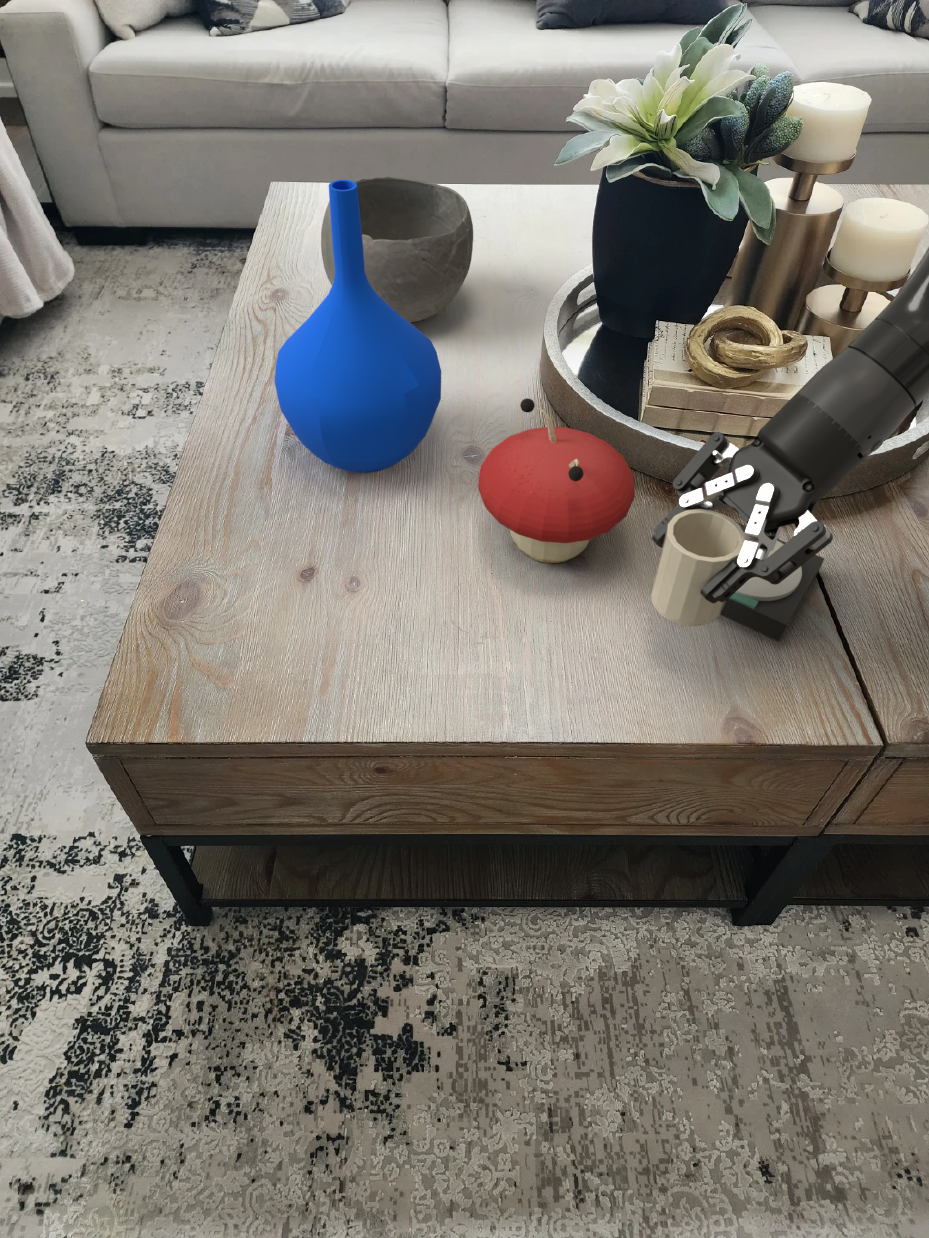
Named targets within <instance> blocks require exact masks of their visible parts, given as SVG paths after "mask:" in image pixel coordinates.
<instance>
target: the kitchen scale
mask: <svg viewBox="0 0 929 1238" xmlns="http://www.w3.org/2000/svg"><path fill="white" fill-rule="evenodd" d="M734 521H735V520H734ZM735 522H736V523H737V524H739V525H740V527H741V528H742V530H743V532H744V533H745V530H746V527H747V525H745V524H742V523H740V522H738V521H735ZM786 542H787V541H784V540H782V539H779V538H778V539H777V541H776V544H775V547H774V549H773V550H772V551H770V552H769V555H768V557H769V556H770V555H772V554H773V553H774V552H775V551H777V550H778V549H779V548H780V547H781V546H783V545H784V544H785V543H786ZM768 557H767V558H768ZM824 561H825V558H824V557H822V556H819V555H817V554H816V555H814V556H813V557H812V558H811V559H809V560H808V561H807V562H806V563H804V564H803V565H802V566H801V567H799V568H798V569H797V570H796V571H794V572H793V573H792V574H790V575H789V576H788V577H787V578H785V579H784V580H783V581H782V582H780V583H779V584H776V585H773V584H771V583H770V582H768V581H766V580H764V579H761V578H759V577H753V578H751V579H749V580H748V581H747V582H746V583H745V584H744V585H743V586H742V587H741V588H739V589H738V590H737V591H736V592H735V593H734V594H733V595H732V596H731V597H730V598H729V599H728V600H726V602H725V605H724V607H723V609H722V612H721V614H720V615H719V616H722V617H724V618H726V619H728V620H730V621H732V622H735V623H737V624H739V625H742V626H743V627H746V628H748V629H750V630H752V631H754V632H756V633H759V634H761V635H763V636H765V637H766V638H769V639H771V640H774V641H776V642H780V641H781V639H782V638H783V636H784V634H785V632H786V630H788V627H789V625H790V624H791V621H792V620H793V618H794V616H795V614H796V613H797V611H798V609H799V607H800V606H801V604H802V603H803V601H804V599H805V597H806V595H807V593H808V592H809V590H810V588H811V586H812V585H813V584H814V582H815V580H816V578H817V576H818V574H819V572H820V570H821V568H822V566H823V563H824Z"/></svg>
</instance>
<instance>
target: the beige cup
mask: <svg viewBox="0 0 929 1238" xmlns="http://www.w3.org/2000/svg"><path fill="white" fill-rule="evenodd" d="M736 522H737V521H736ZM736 522H735V520H734V519H733V518H731V517H730V516H728V515H726V514H723V513H721V512H718V511H717V510H713V511H712V510H705V509H693V510H686V511H683V512H681V513H679V514H677V515H675V516H674V517H673V518H672V520H671V521H670V522H669V523H668V526H667V530H666V534H665V538H664V542H663V546H662V548H661V550H660V554H659V558H658V562H657V566H656V570H655V574H654V578H653V582H652V587H651V592H650V600H651V603H652V605H653V608H654V609H655V610H656V611H657V612H658V614H660V615H661V616H662V617H664V619H666V620H668V621H670V622H672V623H674V624H677V625H681V626H685V627H701V626H702V627H703V626H705V625H709V624H711V623H713V622H714V621H716V620H717V619H718V618H719V617H720V616H721V615H720V614H721V612H722V609H723V607H724V605H725V602H726V601H724V602H720V601H718V602H716V603H711V602H709V601H708V600H706V599H705V598H704V597H703V596H702V595H701V594H700V591H701V590H702V588H703V587H705V586H706V585H707V584H708V583H709V582H710V581H711V580H712V579H713V578H714V577H715V576H716V575H717V574H718V573H719V572H720V571H721V570H722V569H723V568H724V567H725V566H726V565H728V564H729V563H730V562H731V561H733V562H735V563H736V562H737V560H738V557H739V554H740V551H741V549H742V546H743V544H744V541H745V536H744V534H745V533H744V532H743V530H742V528H741V527H740V525H739V524H737V523H736Z"/></svg>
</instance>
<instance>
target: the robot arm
mask: <svg viewBox="0 0 929 1238" xmlns="http://www.w3.org/2000/svg"><path fill="white" fill-rule="evenodd" d="M928 396H929V246H928V247H927V248H926V250H925V251H924V253H923V255H922V257H921V259H920V260H919V262H918V264H917V265H916V267H915V268H914V270H913V271H912V273H911V274H910V276H909V278H908V279H907V280H906V281H905V283H904V284H903V286H901V288H900V290H899V291H898V292H897V293H896V295H894V297H893V298H892V299H891V300H890V302H889V303H888V304H887V305H886V306H885V307H884V308H883V309H882V311H880V313H878V315H877V316H876V317H875V318H874V319H873V320H872V321H870V323H869V324H868V325H866V327H865V328H864V329H863V330H862V331H861V332H860V333H859V334H858V335H857V336H856V337H855V338H854V339H853V340H852V341H851V342H850V343H849V344H848V345H847V347H845V348H844V349H843V350H842V351H841V352H839V353H838V354H837V355H836V356H834V357H833V358H832V359H831V360H829V361H828V362H827V363H826V364H825V365H824V366H822V367H821V368H820V369H818V371H816V373H815V374H814V375H813V376H812V377H811V378H810V379H809V380H808V381H807V382H806V383H805V384H804V385H803V386H801V388H800V389H799V390H798V391H797V392H796V393H795V394H794V395H793V396H792V397H791V398H790V399H789V400H788V401H787V402H786V403H785V404H784V405H783V406H782V407H781V408H780V409H779V410H778V411H777V412H776V413H775V414H774V415H773V416H772V417H771V418H770V419H769V421H767V422H766V423H765V424H764V425H763V426H762V427H761V428H760V429H759V431H758V433H757V435H756V437H755V438H754V439H753V441H752V442H751V443H749V444H748V445H746V446H743V447H740V448H739V447H737V446H736V445H734V444H733V443H732V442H731V441H730V440H729V439H728V438H727V437H726V436H725V435H724V434H723V433H722V432H720V431H716V432H714V433H712V434H711V435H710V437H709V438H708V439H707V440H706V442H704V444H702V446H701V447H700V449H699V450H698V451H697V452H696V453H695V454H694V456H692V458H691V459H690V461H688V462H687V464H686V465H685V466H684V467H683V468H682V469H681V471H680V472H679V473H678V474H677V475H676V477H675V478H674V479H673V481H672V487H673V488H674V489H675V491H676V494H677V497H678V503H677V504H676V506H675V507H674V508H673V509H672V510H671V511H670V512H668V514H667V515H666V516H665V517H663V519H662V520H661V521H660V522H659V523H658V524H657V525H656V526H655V528H654V531H653V532H654V534H653V535H652V537H651V540H652V542H653V543H655V545H656V546H658V547H659V548H661V549H662V546H663V542H664V538H665V534H666V530H667V526H668V523H669V522H670V521H671V520H672V518H673V517H674V516H675V515H677V514H679V513H681V512H683V511H686V510H693V509H705V510H712V511H718V510H719V511H722V510H726V509H729V508H731V510H733V511H734V512H735V513H737V515H739V517H740V518H741V519H742V520H743V521H744V522H745V523H746V524H747V525H746V526H747V527H746V530H745V534H744V536H745V541H744V544H743V546H742V549H741V551H740V554H739V557H738V560H737V562H736V563H735V562H733V561H731V562H730V563H729V564H728V565H726V566H725V567H724V568H723V569H722V570H721V571H720V572H719V573H718V574H717V575H716V576H715V577H714V578H713V579H712V580H711V581H710V582H709V583H708V584H707V585H706V586H705V587H703V588H702V590H701V591H700V594H701V595H702V596H703V597H704V598H705V599H706V600H708V601H709V602H711V603H716V602H718V601H720V602H724V601H726V600H728V599H729V598H730V597H731V596H732V595H733V594H734V593H735V592H736V591H737V590H738V589H739V588H741V587H742V586H743V585H744V584H745V583H746V582H747V581H748V580H749V579H751V578H753V577H759V578H761V579H764V580H766V581H768V582H770V583H771V584H773V585H776V584H779V583H780V582H782V581H783V580H784V579H785V578H787V577H788V576H789V575H790V574H792V573H793V572H794V571H796V570H797V569H798V568H799V567H801V566H802V565H803V564H804V563H806V562H807V561H808V560H809V559H811V558H812V557H813V556H814V555H817V554H818V553H820V552H821V551H823V550H824V549H825V548H826V547H827V546H829V545H830V544H831V543H832V542H833V539H834V535H833V533H832V532H831V530H830V529H829V528H828V527H827V526H826V525H825V524H824V523H822V522H821V521H819V520H817V518H816V517H815V516H814V515H813V513H814V509H815V507H816V506H817V503H819V501H820V500H821V499H822V498H824V497H826V496H827V495H829V494H830V493H831V492H832V491H833V490H834V489H835V488H836V487H837V486H839V485H840V484H841V483H842V482H843V481H844V480H845V479H846V478H847V477H848V476H849V475H850V474H851V473H852V472H853V471H854V470H856V469H857V468H858V467H859V466H860V465H861V464H862V463H863V462H864V461H865V460H866V459H867V458H868V457H869V456H870V455H871V454H873V453H874V452H876V451H877V450H878V449H879V448H880V447H881V446H882V445H883V443H884V442H885V441H886V440H887V439H888V438H889V437H890V436H891V435H892V434H893V433H895V431H896V430H897V429H898V428H899V427H900V425H901V424H902V423H903V421H904V420H905V419H906V418H907V417H908V416H909V415H910V413H911V412H912V411H913V410H914V409H915V408H916V407H917V406H918V405H920V403H921V402H923V401H924V400H925V399H926V398H927V397H928ZM728 465H729V467H728V470H727V474H724V475H722V476H719V477H717V478H715V479H712V477H713V476H714V475H715V474H716V473H717V472H718V471H719V469H720V468H722V467H727V466H728ZM795 524H798V526H797V527H796V528H795V529H794V531H793V537H791V538H790V539H789V540H788V541H785V542H786V543H785V544H784V545H783V546H781V547H780V548H779V549H778V550H777V551H775V552H774V553H773V554H772V555H770V556H769V557H768V555H769V552H770V551H772V550H773V549H774V547H775V544H776V541H777V539H779V536H780V533H781V531H782V529H783V527H786V526H791V525H795ZM767 557H768V558H767Z"/></svg>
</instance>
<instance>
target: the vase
mask: <svg viewBox="0 0 929 1238" xmlns="http://www.w3.org/2000/svg"><path fill="white" fill-rule="evenodd" d="M355 182H356V181H354V180H350V179H335V180H332V181H331V182H329V184H328V197H329V201H330V213H331V228H332V243H333V254H334V265H335V277H334V283H333V285H331V288H330V289H329V292H328V294H327V295H326V296H325V298H324V299H323V300H322V301H321V303H320V304H319V305H318V306H317V307H316V308H315V310H314V311H313V312H312V314H311V315H310V316H309V317H308V318H307V319H306V320H305V321H304V322H303V323H302V324H301V325H300V326H299V327H298V328H297V329H296V330H295V331H294V332H293V333H292V334H291V335H290V336H289V337H288V338H287V339H286V340H285V341H284V343H283V345H282V346H281V347H280V348H279V350H278V351H277V357H276V362H275V372H274V385H275V392H276V396H277V401H278V405H279V408H280V411H281V413H282V414H283V417H284V418H285V419H286V422H287V423H288V425H289V427H290V428H291V430H292V431H293V434H294V435H295V436H296V437H297V439H298V440H299V442H300V443H301V444H302V445H303V446H304V447H305V448H306V449H307V450H308V451H309V452H310V453H311V454H312V455H314V456H315V458H317V459H319V460H320V461H322V462H323V463H325V464H327V465H329V466H332V467H334V468H337V469H339V470H341V471H343V472H344V471H345V472H349V473H353V474H354V473H355V474H371V473H376V472H381V471H384V470H387V469H389V468H391V467H393V466H395V465H396V464H398V463H400V462H401V461H403V460H405V459H406V458H408V457H409V456H410V454H412V453H413V451H415V450H416V448H417V447H418V446H419V445H420V444H421V442H422V441H423V440H424V439H425V437H426V436H427V434H428V431H429V430H430V427H431V425H432V423H433V420H434V417H435V415H436V413H437V410H438V407H439V404H440V402H441V399H442V367H441V364H440V359H439V356H438V353H437V350H436V348H435V346H434V343H433V342H432V340H431V339H430V338H429V337H427V336H426V335H425V334H424V332H422V331H421V330H420V329H418V328H417V327H416V326H415V325H413V324H412V322H408V321H407V320H405V319H404V318H403V317H402V316H400V315H399V314H398V313H397V312H396V311H395V310H393V309H392V308H391V307H390V306H389V305H388V304H387V303H386V302H385V301H384V300H383V299H382V298H381V297H380V296H379V295H378V294H377V293H375V291H374V289H373V288H372V286H371V285H370V283H369V282H368V279H367V276H366V273H365V266H364V252H363V240H362V230H361V220H360V210H359V200H358V190H357V184H356V183H355Z"/></svg>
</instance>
